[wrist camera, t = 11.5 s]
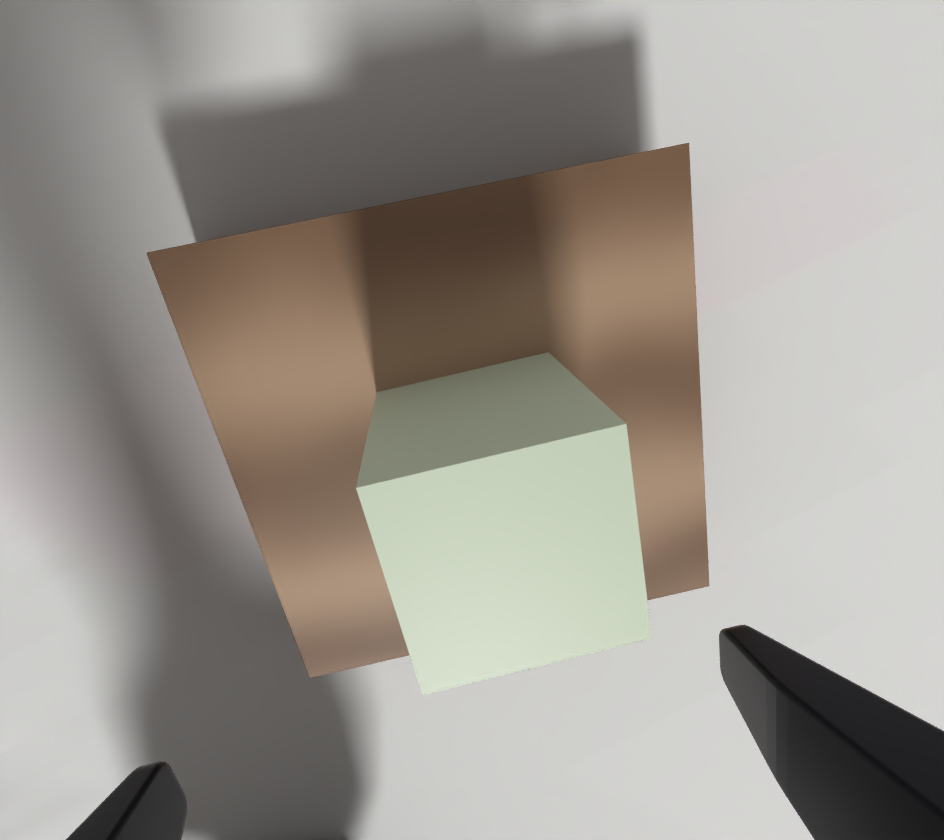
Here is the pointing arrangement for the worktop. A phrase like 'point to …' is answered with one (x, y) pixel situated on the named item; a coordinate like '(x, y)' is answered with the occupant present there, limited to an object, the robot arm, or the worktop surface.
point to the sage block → (503, 521)
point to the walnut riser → (442, 360)
